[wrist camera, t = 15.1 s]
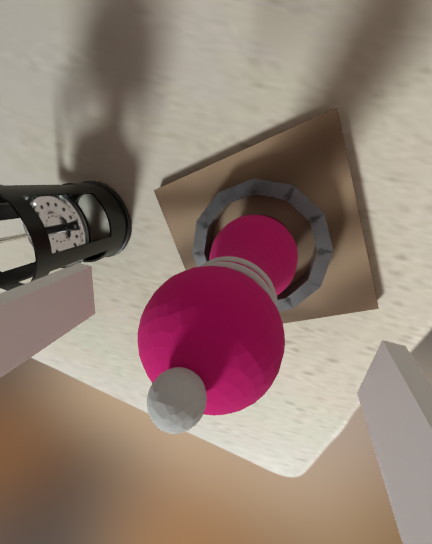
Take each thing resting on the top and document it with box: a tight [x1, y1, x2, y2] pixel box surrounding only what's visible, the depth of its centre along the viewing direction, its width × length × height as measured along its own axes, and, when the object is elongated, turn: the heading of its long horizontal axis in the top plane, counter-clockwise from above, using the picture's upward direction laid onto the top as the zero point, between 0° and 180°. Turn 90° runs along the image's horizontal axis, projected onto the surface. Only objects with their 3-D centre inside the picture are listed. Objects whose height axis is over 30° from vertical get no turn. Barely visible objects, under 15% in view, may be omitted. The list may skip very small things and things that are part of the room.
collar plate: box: [154, 108, 379, 323], centre depth 25 cm, size 18×18×1 cm
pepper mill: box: [138, 215, 298, 434], centre depth 16 cm, size 7×7×20 cm
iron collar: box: [192, 178, 334, 311], centre depth 23 cm, size 12×12×2 cm
